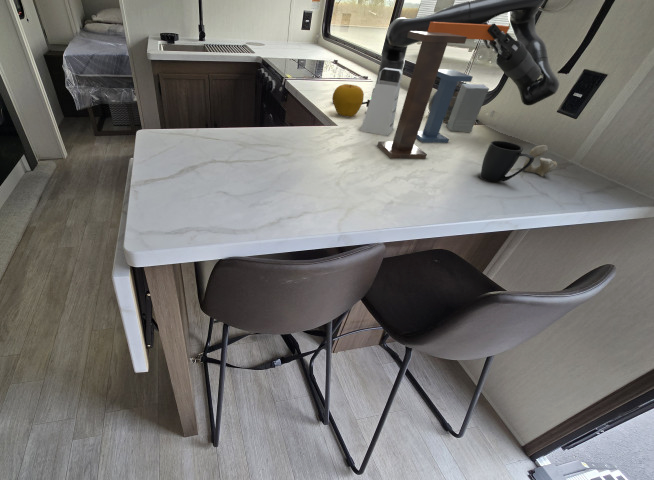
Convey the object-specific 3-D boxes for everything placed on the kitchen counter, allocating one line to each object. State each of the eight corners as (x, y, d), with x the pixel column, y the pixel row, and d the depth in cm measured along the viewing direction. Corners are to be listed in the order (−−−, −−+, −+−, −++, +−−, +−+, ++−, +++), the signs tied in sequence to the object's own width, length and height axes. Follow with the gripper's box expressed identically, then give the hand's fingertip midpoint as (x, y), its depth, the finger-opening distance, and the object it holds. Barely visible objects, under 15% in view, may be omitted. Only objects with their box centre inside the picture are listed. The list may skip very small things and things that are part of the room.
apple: (342, 120, 141) (348, 89, 133) (323, 112, 149) (328, 82, 141) (366, 118, 146) (373, 87, 138) (346, 110, 154) (352, 80, 146)
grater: (366, 124, 139) (380, 65, 125) (392, 128, 135) (409, 69, 122) (359, 130, 131) (373, 69, 118) (387, 135, 128) (404, 73, 115)
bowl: (467, 122, 148) (477, 96, 142) (440, 124, 143) (450, 97, 137) (443, 113, 158) (452, 88, 151) (417, 115, 153) (425, 89, 146)
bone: (562, 170, 105) (570, 143, 98) (547, 184, 105) (554, 158, 97) (533, 162, 111) (538, 136, 103) (519, 176, 111) (523, 150, 103)
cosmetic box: (465, 128, 141) (483, 83, 131) (471, 133, 136) (491, 87, 125) (444, 126, 142) (461, 82, 131) (450, 131, 136) (467, 86, 126)
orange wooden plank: (496, 39, 110) (501, 25, 108) (503, 40, 107) (509, 26, 105) (426, 35, 107) (430, 21, 105) (432, 37, 104) (436, 22, 102)
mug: (508, 191, 95) (527, 157, 89) (469, 175, 103) (484, 142, 96) (523, 186, 99) (543, 152, 92) (485, 171, 106) (500, 139, 100)
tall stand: (409, 146, 121) (446, 32, 99) (425, 158, 112) (469, 37, 90) (377, 145, 119) (407, 30, 98) (390, 158, 110) (427, 35, 89)
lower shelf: (433, 133, 134) (456, 69, 120) (449, 143, 125) (475, 76, 111) (409, 132, 133) (429, 68, 119) (423, 143, 124) (447, 75, 110)
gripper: (511, 46, 116) (483, 11, 109) (541, 52, 106) (512, 14, 98) (491, 68, 120) (463, 36, 113) (518, 76, 110) (489, 41, 102)
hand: (486, 26), depth 106 cm, fingers closed on orange wooden plank, 4 cm apart
